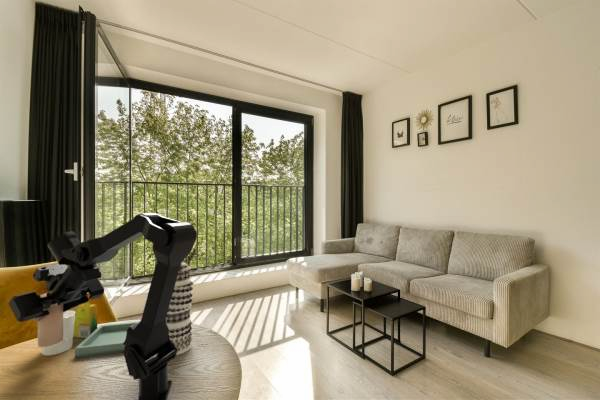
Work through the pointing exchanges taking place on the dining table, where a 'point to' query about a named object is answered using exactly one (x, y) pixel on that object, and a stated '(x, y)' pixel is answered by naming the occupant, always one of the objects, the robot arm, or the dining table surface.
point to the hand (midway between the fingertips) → (47, 316)
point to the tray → (104, 340)
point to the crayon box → (85, 320)
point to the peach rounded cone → (51, 326)
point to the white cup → (67, 336)
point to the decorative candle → (181, 311)
